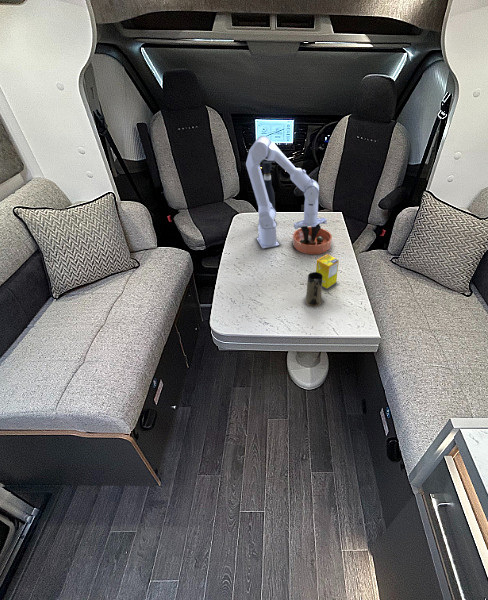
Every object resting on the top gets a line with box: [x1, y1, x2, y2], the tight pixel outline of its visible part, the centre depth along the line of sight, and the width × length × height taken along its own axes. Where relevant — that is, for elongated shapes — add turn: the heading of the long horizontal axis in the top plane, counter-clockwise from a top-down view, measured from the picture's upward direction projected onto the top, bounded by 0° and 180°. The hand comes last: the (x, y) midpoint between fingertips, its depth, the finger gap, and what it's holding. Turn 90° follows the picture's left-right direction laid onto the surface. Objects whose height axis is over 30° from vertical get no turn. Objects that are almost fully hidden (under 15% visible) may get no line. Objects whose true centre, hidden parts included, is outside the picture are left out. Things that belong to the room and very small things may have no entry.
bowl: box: [292, 226, 333, 255], centre depth 152 cm, size 17×17×4 cm
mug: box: [305, 271, 323, 307], centre depth 118 cm, size 8×6×12 cm
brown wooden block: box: [304, 235, 316, 245], centre depth 151 cm, size 7×3×3 cm, turn 21°
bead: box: [317, 237, 323, 243], centre depth 153 cm, size 3×3×3 cm
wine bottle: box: [262, 160, 276, 222], centre depth 160 cm, size 6×6×30 cm
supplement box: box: [315, 253, 340, 291], centre depth 127 cm, size 6×6×11 cm
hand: (309, 240), depth 151 cm, fingers closed on brown wooden block, 3 cm apart
